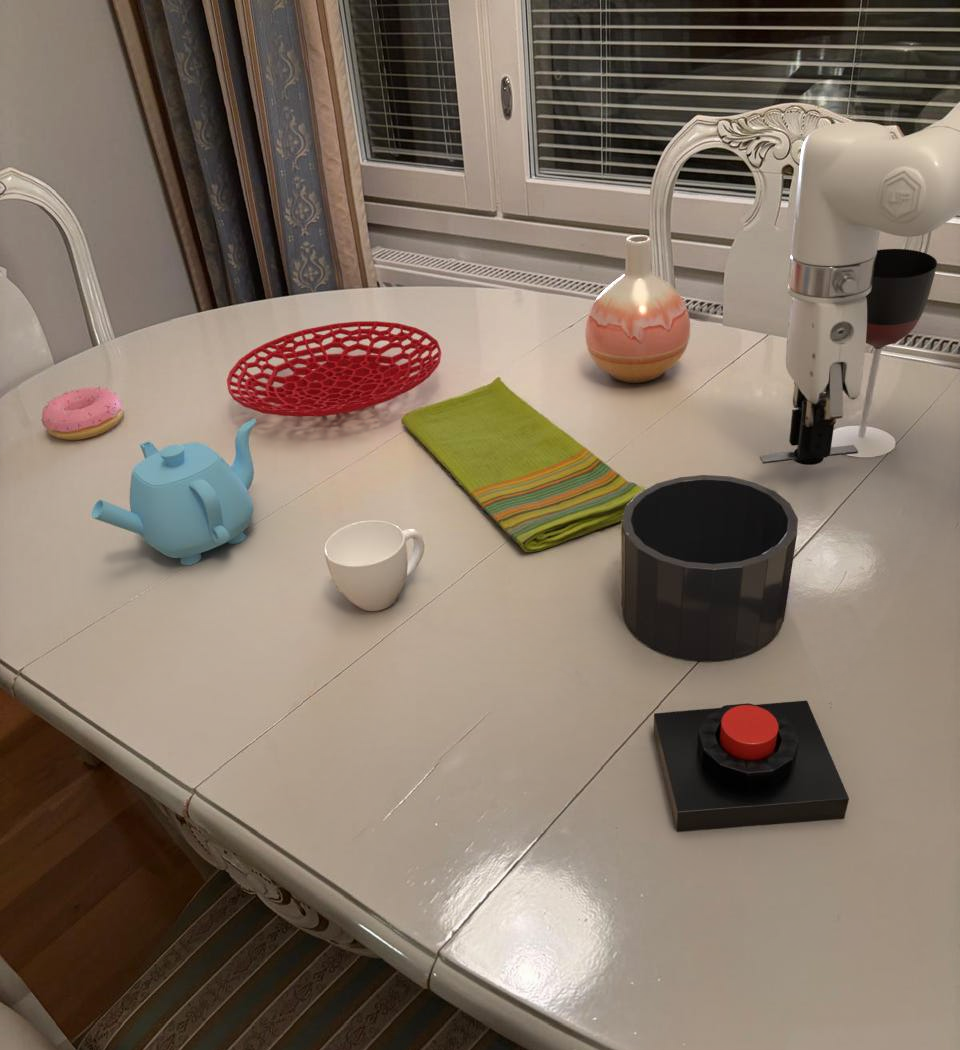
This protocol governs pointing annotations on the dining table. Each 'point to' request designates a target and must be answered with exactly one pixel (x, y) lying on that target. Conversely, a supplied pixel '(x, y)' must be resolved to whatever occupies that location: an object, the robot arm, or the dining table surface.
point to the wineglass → (888, 331)
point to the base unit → (747, 771)
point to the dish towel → (521, 466)
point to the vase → (637, 321)
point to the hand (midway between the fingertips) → (809, 448)
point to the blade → (794, 455)
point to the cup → (372, 562)
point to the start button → (748, 732)
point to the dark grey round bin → (706, 566)
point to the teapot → (187, 498)
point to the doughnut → (82, 413)
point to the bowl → (334, 371)
